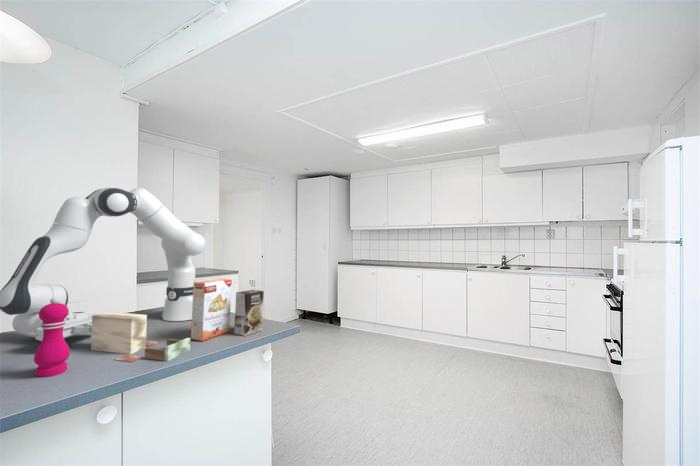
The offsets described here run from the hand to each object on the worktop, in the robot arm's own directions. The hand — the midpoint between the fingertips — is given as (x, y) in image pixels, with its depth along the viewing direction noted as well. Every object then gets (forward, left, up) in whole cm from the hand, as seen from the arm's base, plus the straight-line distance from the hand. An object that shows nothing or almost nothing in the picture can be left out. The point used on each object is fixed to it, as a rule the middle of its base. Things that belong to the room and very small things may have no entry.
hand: (92, 329), depth 111 cm
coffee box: (-29, +41, -6) cm, 51 cm away
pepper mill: (+20, +10, -6) cm, 23 cm away
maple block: (0, +10, -6) cm, 12 cm away
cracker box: (-21, +30, -6) cm, 37 cm away
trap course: (0, +22, -6) cm, 23 cm away
